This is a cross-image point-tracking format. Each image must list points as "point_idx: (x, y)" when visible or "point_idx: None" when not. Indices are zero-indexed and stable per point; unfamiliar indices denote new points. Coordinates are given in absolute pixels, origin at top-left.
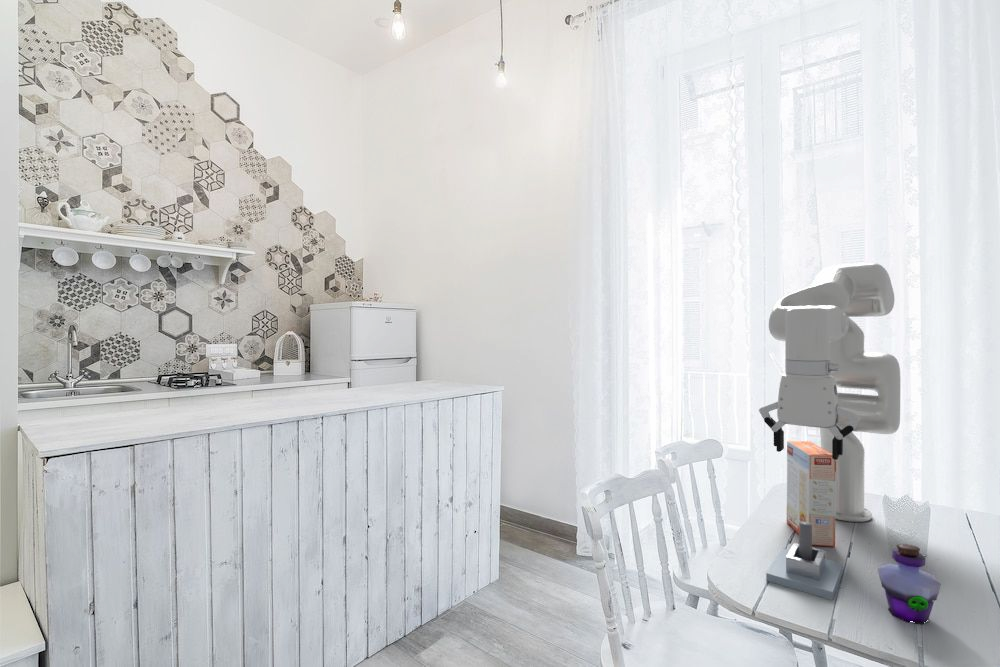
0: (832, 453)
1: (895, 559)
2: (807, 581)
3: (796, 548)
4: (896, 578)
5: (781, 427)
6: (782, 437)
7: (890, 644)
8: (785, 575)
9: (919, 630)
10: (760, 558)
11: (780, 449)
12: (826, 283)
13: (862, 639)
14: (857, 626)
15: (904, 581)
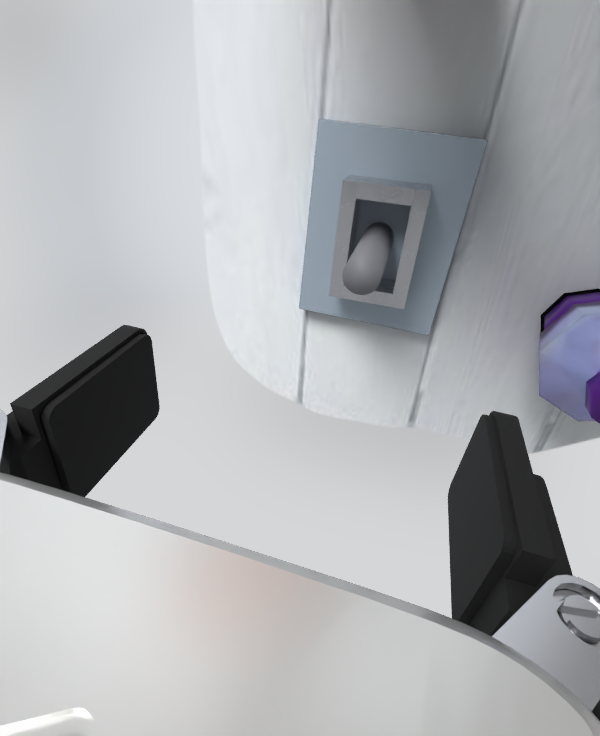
0: (449, 523)
1: (586, 403)
2: (380, 309)
3: (350, 224)
4: (566, 402)
5: (13, 461)
6: (96, 422)
7: None
8: (336, 301)
9: None
10: (274, 182)
11: (152, 421)
12: None
13: (457, 433)
14: (457, 401)
15: (580, 412)
